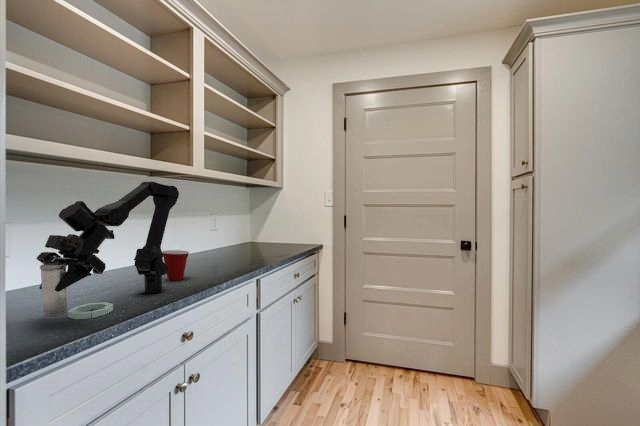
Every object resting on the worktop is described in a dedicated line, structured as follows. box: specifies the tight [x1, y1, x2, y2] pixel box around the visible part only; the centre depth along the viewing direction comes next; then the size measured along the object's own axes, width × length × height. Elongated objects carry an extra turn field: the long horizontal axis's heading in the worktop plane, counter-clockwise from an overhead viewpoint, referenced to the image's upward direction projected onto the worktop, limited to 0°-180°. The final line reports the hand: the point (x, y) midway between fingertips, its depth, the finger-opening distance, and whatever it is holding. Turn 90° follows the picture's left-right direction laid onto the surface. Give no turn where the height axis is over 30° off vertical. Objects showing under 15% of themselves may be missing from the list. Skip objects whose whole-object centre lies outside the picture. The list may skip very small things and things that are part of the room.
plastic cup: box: [161, 249, 191, 282], centre depth 135 cm, size 11×11×12 cm
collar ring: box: [67, 301, 114, 320], centre depth 94 cm, size 10×10×2 cm
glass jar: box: [39, 263, 68, 318], centre depth 85 cm, size 5×5×13 cm
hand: (48, 290), depth 83 cm, fingers closed on glass jar, 5 cm apart
